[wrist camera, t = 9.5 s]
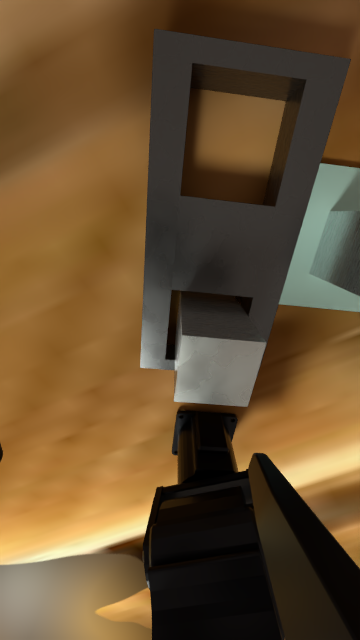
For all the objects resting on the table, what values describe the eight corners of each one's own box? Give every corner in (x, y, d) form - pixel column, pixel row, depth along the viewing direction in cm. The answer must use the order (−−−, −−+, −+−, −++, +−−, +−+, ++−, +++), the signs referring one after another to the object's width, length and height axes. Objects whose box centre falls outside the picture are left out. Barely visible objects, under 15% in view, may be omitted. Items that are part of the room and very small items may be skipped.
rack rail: (248, 360, 22) (257, 376, 20) (144, 351, 22) (140, 367, 19) (322, 84, 14) (351, 58, 12) (158, 59, 14) (154, 28, 11)
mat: (365, 311, 20) (369, 312, 20) (276, 302, 20) (278, 304, 19) (427, 178, 16) (433, 177, 16) (316, 164, 16) (319, 163, 15)
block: (223, 341, 21) (247, 406, 14) (175, 337, 21) (173, 401, 14) (233, 295, 20) (266, 342, 12) (180, 290, 19) (182, 335, 12)
